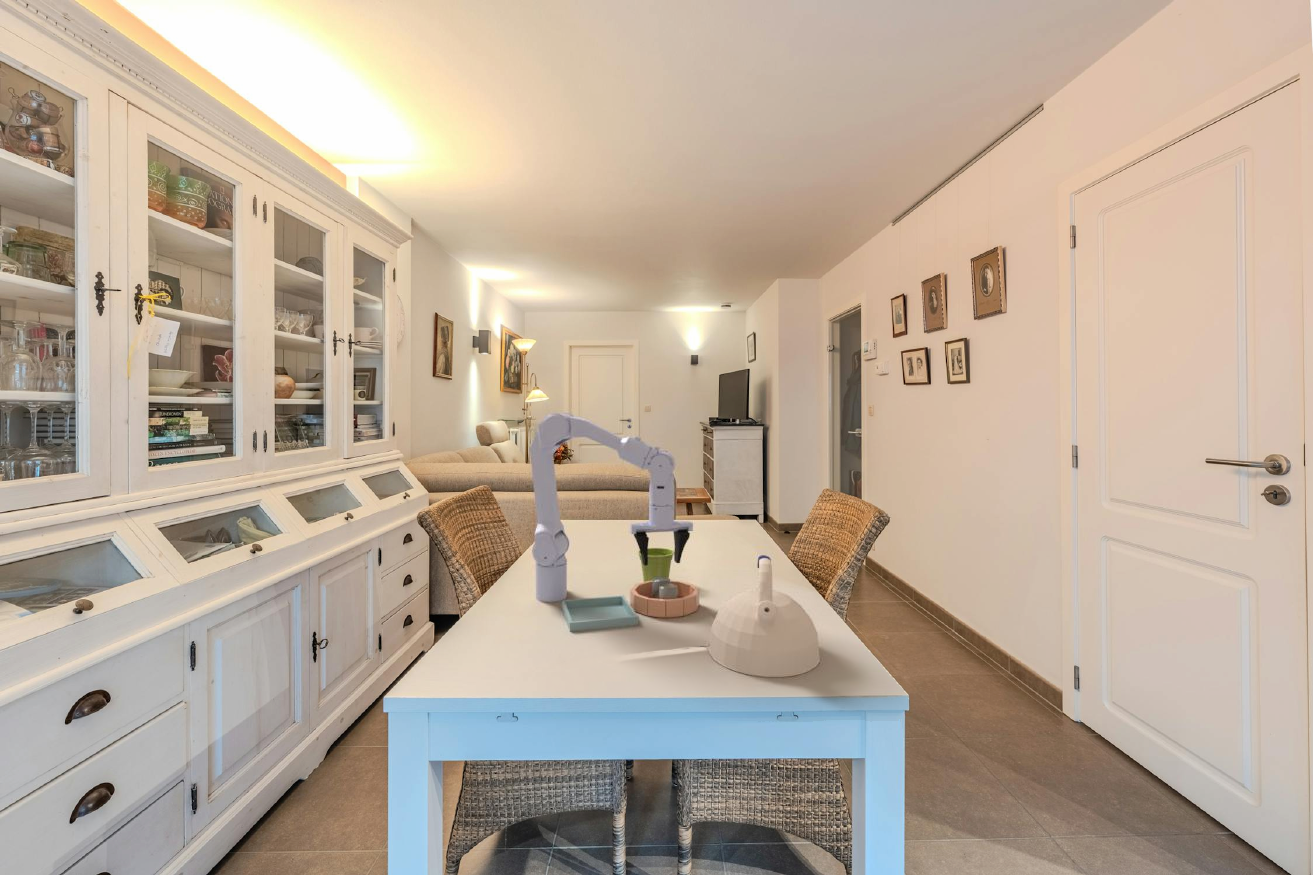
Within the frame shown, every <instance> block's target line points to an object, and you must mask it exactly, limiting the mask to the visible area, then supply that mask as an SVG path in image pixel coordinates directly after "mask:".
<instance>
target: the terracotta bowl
mask: <svg viewBox="0 0 1313 875" xmlns="http://www.w3.org/2000/svg"><path fill="white" fill-rule="evenodd" d="M670 584H674V585H677V599H654V598H653V580H652V581H645V582H644V581H643V582H639V583H636V584H634V585H633V587H631V588H630V593H629V595H630V598H629V599H630V601H629V604H630V605H631V607H632V608H633V610H634V611H635V612H636V613H638V614H640V615H644V616H647V617H653V618H663V619H664V618H665V619H666V618H668V619H669V618H677V617H684V616H688V615H690V614H692V613H695V612H697V610H698V608H699V606H700V589H699V588H698V587H697V586H695V584H692V583H688V582H686V581H682V580H675V579H674V580H673V579H670Z"/></svg>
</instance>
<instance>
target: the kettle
mask: <svg viewBox="0 0 1313 875" xmlns="http://www.w3.org/2000/svg"><path fill="white" fill-rule="evenodd" d="M772 566H773V565H772V559H771V558H770V556H768V555H760V556H758V558H757V568H758V576H759V578H758V579H759V581H758V586H759V587H758V588H753V589H748V590H744V591H741V592H738V594H736V595H735V596H733V597H732V598H730V599H729V600H727V601H726V602H725V603H724V604H723V606H722V607H720V608H719V610H717V611H718V612H717V614H716V616H715V617H714V620H713V623H712V625H711V627H710V635H709V645H708V651H709V652H708V653H709V655H710V656H711V658H712V659H714V661H715V662H716V663H719V665H721V666H723V668H727V669H729V670H731V671H733V672H737V673H739V674H745V675H748V676H755V677H761V678H787V677H788V678H789V677H796V676H799V675H802V674H806V673H808V672H810V671H811V670H813V669H815V668H816V667H817V665H818V664H819V663H820V660H821V659H820V657H821V656H820V650H819V648H820V647H819V637H818V636H819V635H818V631H817V629H816V627H815V624H814V621H813V620H812V618H811V617H810V615H809V614H808V612H807V611H806V610H805V609H804V608H803V606H802V605H801V604H800V603H798V602H797V601H796V600H795V599H793V598H792V596H789V595H788V594H786V593H783V592H780V591H777V590H776V589H775V590H774V589H773V567H772Z"/></svg>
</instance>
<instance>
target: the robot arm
mask: <svg viewBox="0 0 1313 875" xmlns="http://www.w3.org/2000/svg"><path fill="white" fill-rule="evenodd" d="M572 438H573V439H574V438H575V439H576V438H586V439H589V440H592V441H594V442H596V443H598V444H601V445H603V446H604V447H608V448H610V449H612V450H614V451H616V452H617V454H618V457H619V459H621V460H623V461H625V462H627V463H628V464H631V465H633V466H635V467H637V468H639V469H642V470H643V471H645V470H648V473H649V475H650V476H649V477H650V478H649V479H650V480H649V481H650V482H649V485H648V486H649V490H648V491H649V497H648V498H649V500H648V501H649V502H648V504H649V507H648V508H649V510H648V516H649V517H648V522H646V521H645V522H639V523H629V533H630V534H631V535H633V537H634V538H635V541H636V543H637V546H638V549H639V550H640V552H641V556H642V563H643V564H644V565H648V548H649V540H650V538H649V537H648V534H647V533H649V534H650V533H669V532H673V538H674V539H673V540H674V549H673V551H674V555H673V557H674V559H673V560H674V562H675V563H676V564H680V563H681V559H682V555H683V552H684V548H685V547H686V544H687V542H688V541H689V539H690V537H691V535H690V534H691V533H690V532H693V531H694V523H693V522H692V521H683V520H682V521H681V520H680V521H677V520H675V484H674V482H675V476H674V475H675V474H674V473H673V472H674V470H675V468H676V459H675V457H674V455H672V453H670V452H669V451H668V450H664V449H663V450H660V447H659V446H658V445H655V446H653V445H650V444H649V443H646V442H645V441H642V437H640V436H638V435H636V436H632V435H630V436H627V437H624V438H623V437H621V436H619V435H617V434H616V433H613V432H612V431H609V430H608V429H606V428H604V427H602V426H600V425H598V424H596V423H594V422H593V421H591V420H588V419H586V418H583V417H581V416H575V415H573V414H572V413H570V412H562V413H559V412H557V413H556V412H554V413H553V412H552V413H549V414H548V415H546V416H545V417H544V418H543V419H542V420H541V421H540V422H539V423H538V425H537V431H536V433H535V435H534V437H533V440H532V442H531V444H530V446H529V456H530V464H531V465H530V466H531V474H532V484H533V493H534V500H535V502H534V504H535V512H536V518H537V519H536V521H537V526H536V528H535V532H534V542H533V543H534V544H533V545H532V550H531V554H532V558H533V559H534V560H535V599H536V601H540V602H544V603H554V602H560V601H562V600H565V599H566V598H568V596H567V595H568V593H567V591H568V585H567V584H568V579H567V578H568V574H567V573H568V572H567V570H568V567H567V566H568V562H567V560H568V559H567V558H566V553H567V552H568V550H569V548H570V539H569V538H568V536H567V534H566V533H565V528H564V524H563V522H562V521H561V518H560V516H561V515H560V510H559V508H560V507H559V499H558V489H557V488H558V487H557V480H556V470H555V469H556V468H555V463H554V462H555V461H554V453H556V451H557V450H559V448H560V447H561V446H562V445H563V444H564V443H565V442H567V441H570V440H571V439H572Z"/></svg>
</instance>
